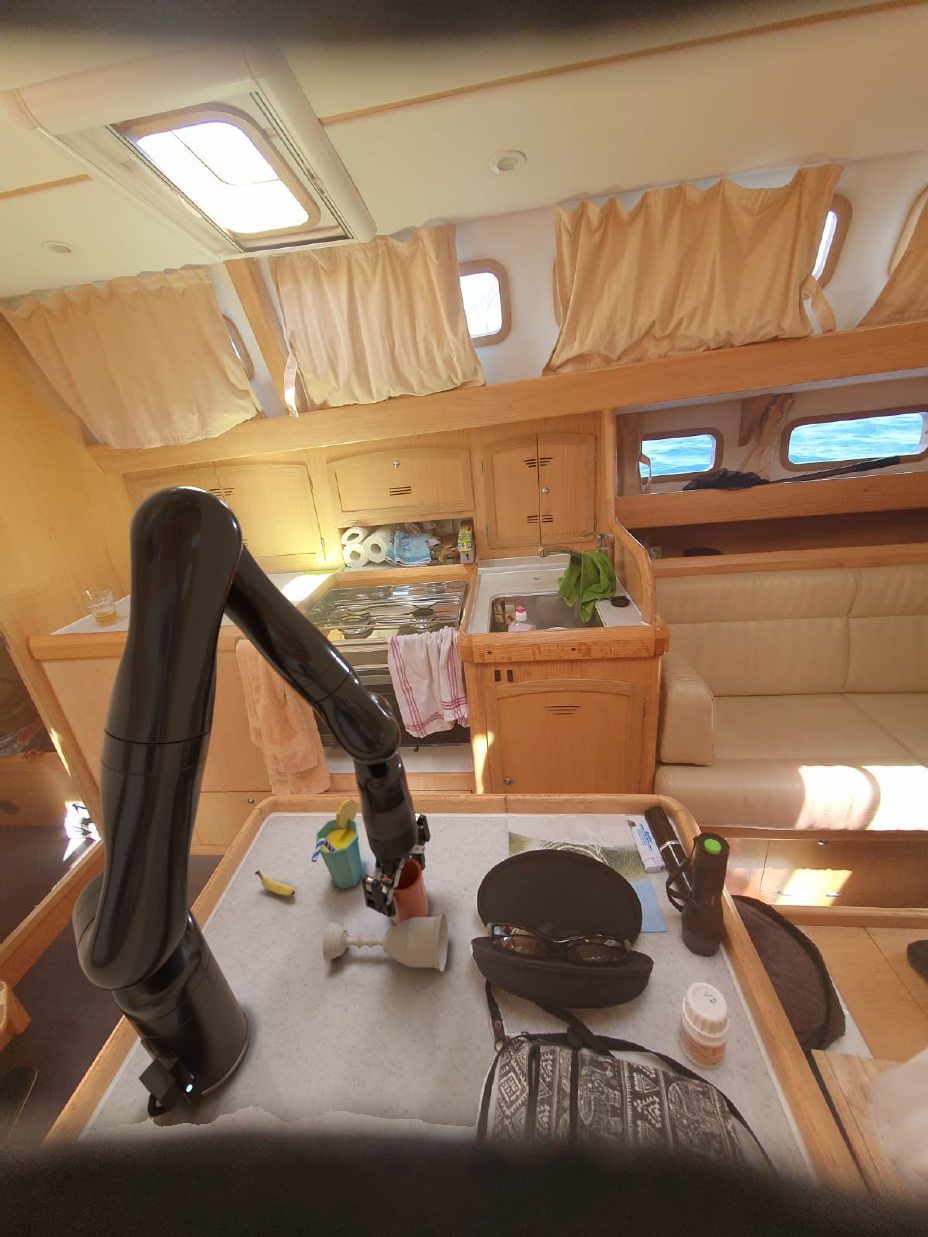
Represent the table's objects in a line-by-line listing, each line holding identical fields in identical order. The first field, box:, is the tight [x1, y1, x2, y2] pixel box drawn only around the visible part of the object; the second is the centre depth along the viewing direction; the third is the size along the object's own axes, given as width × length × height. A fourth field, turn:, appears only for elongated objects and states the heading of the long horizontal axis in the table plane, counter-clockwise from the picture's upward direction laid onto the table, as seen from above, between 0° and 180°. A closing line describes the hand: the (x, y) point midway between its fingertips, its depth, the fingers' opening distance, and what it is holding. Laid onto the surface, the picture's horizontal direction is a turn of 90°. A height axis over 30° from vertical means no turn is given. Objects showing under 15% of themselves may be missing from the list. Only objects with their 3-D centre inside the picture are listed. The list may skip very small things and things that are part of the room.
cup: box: [311, 798, 363, 890], centre depth 79 cm, size 14×8×15 cm, turn 173°
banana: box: [254, 870, 296, 897], centre depth 80 cm, size 8×2×4 cm, turn 69°
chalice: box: [322, 912, 449, 973], centre depth 69 cm, size 7×7×18 cm
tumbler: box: [383, 857, 429, 925], centre depth 74 cm, size 6×6×9 cm
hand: (405, 889), depth 73 cm, fingers open, 8 cm apart
